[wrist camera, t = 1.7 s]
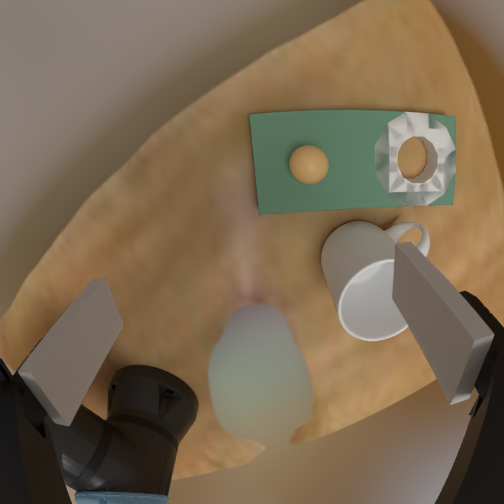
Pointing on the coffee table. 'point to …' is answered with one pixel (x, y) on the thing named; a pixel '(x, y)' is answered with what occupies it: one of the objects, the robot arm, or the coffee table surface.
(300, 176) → the ball
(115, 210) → the coffee table surface
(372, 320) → the mug
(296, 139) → the putting strip
